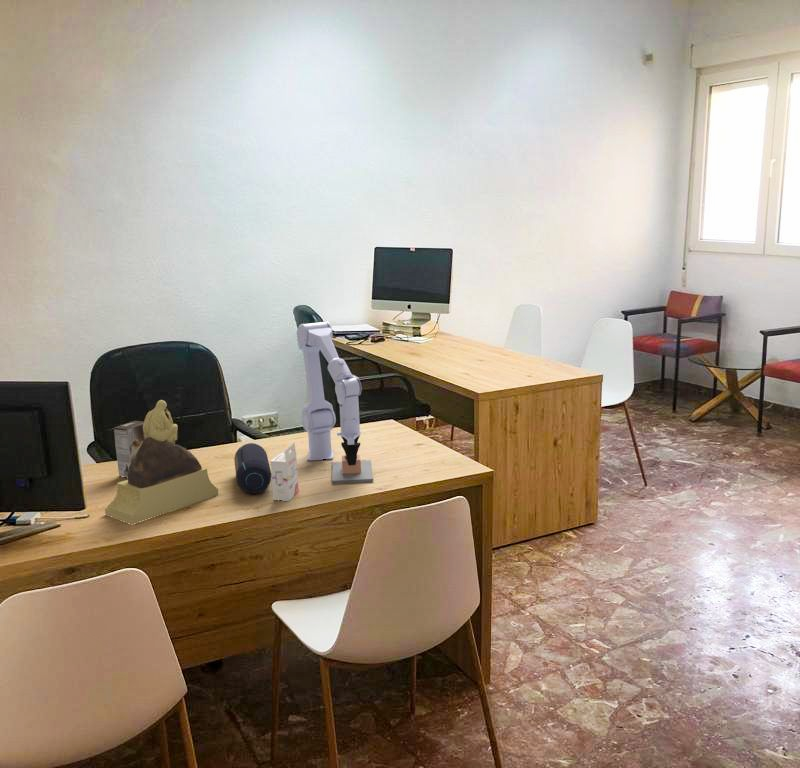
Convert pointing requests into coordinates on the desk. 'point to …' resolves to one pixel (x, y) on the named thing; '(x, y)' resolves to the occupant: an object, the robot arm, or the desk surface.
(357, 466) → the collar
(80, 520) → the desk surface
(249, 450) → the portable speaker
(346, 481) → the post base
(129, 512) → the seated figure statue
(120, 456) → the coffee box
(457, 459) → the desk surface
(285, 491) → the ink cartridge box
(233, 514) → the desk surface
